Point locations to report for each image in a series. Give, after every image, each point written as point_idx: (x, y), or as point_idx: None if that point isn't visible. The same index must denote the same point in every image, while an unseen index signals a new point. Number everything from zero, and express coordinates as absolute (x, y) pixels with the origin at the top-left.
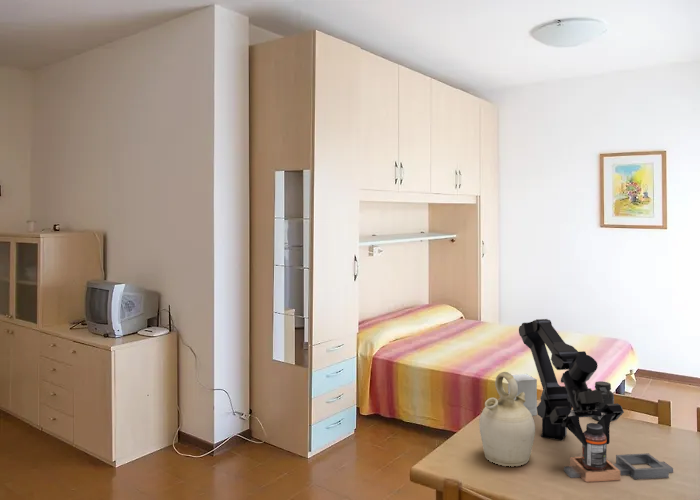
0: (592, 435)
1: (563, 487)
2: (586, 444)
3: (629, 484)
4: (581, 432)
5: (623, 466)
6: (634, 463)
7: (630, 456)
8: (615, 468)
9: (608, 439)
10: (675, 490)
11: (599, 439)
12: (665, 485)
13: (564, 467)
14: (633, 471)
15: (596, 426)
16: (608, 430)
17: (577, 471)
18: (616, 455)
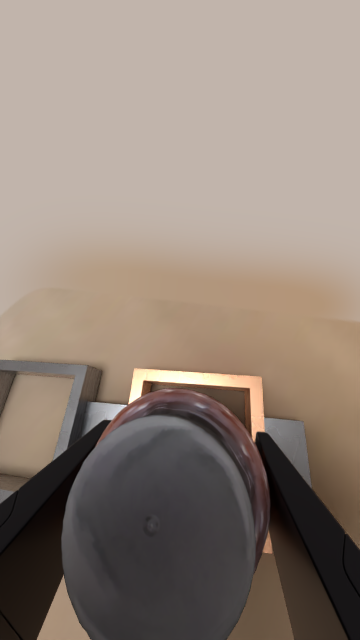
0: (219, 430)
1: (342, 360)
2: (257, 432)
3: (135, 346)
4: (310, 515)
5: (83, 434)
6: (17, 478)
7: (8, 488)
8: (138, 388)
9: (95, 432)
10: (54, 304)
11: (181, 389)
12: (54, 328)
13: (310, 485)
14: (90, 373)
15: (143, 491)
16: (32, 483)
17: (269, 431)
18: None
